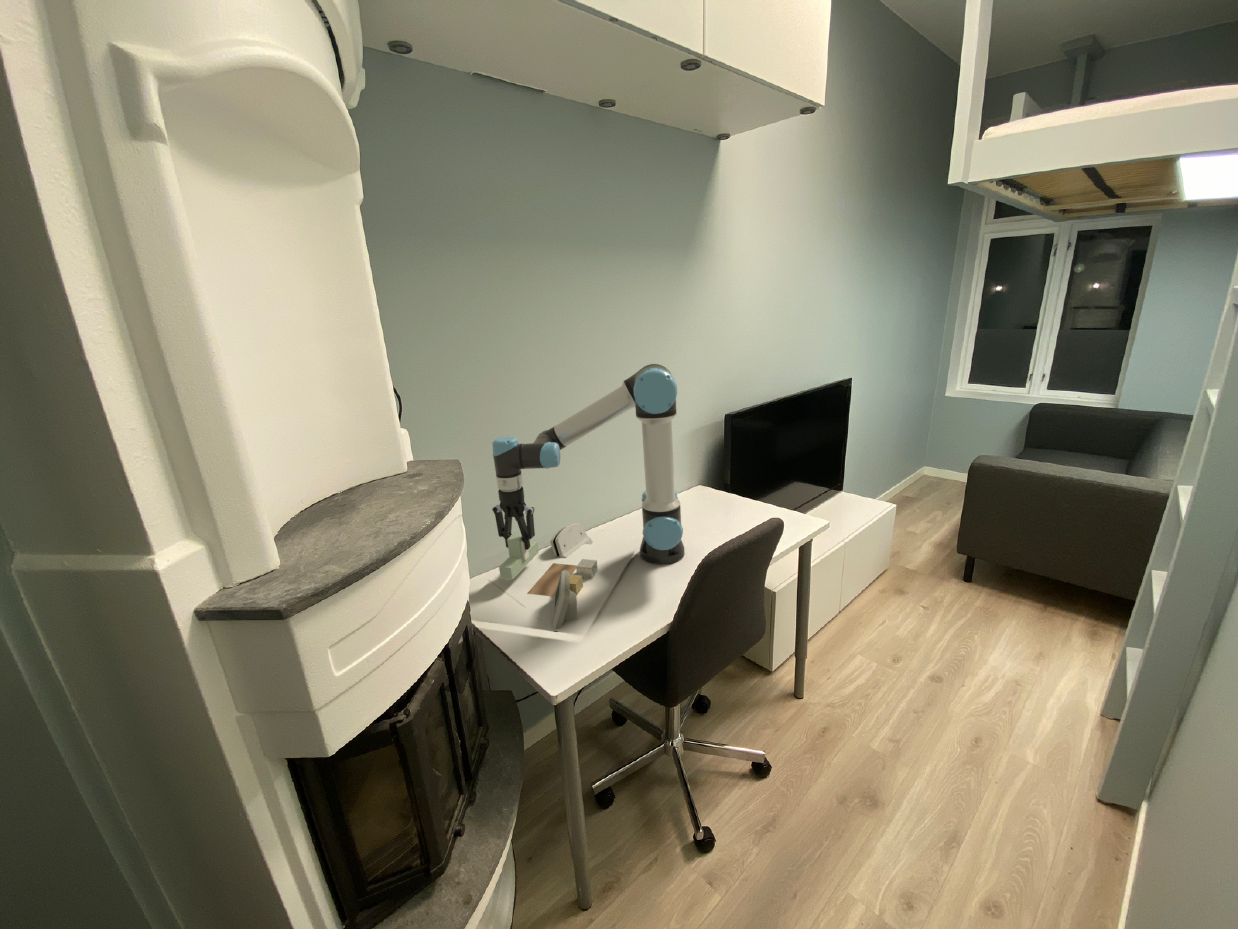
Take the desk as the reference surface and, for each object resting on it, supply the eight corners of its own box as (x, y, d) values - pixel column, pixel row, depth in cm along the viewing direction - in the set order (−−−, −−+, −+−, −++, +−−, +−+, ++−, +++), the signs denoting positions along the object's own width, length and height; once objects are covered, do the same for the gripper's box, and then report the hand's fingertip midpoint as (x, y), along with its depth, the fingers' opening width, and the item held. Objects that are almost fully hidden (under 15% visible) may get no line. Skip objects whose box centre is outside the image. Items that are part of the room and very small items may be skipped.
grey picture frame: (555, 600, 153) (551, 568, 150) (585, 600, 152) (581, 568, 149) (540, 634, 138) (536, 599, 135) (574, 634, 137) (570, 599, 134)
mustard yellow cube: (583, 590, 157) (582, 575, 156) (577, 599, 153) (575, 584, 151) (568, 588, 159) (566, 574, 157) (561, 597, 154) (560, 582, 153)
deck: (578, 569, 170) (578, 565, 170) (555, 601, 153) (554, 596, 152) (553, 567, 173) (553, 563, 172) (527, 597, 156) (527, 593, 155)
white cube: (598, 574, 166) (596, 560, 164) (592, 582, 161) (591, 568, 160) (583, 572, 167) (582, 559, 166) (577, 580, 163) (576, 566, 161)
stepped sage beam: (538, 552, 172) (535, 524, 169) (512, 579, 156) (508, 549, 153) (527, 551, 173) (524, 524, 170) (500, 578, 157) (496, 548, 154)
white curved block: (567, 562, 175) (556, 535, 174) (557, 564, 178) (546, 538, 177) (593, 542, 189) (583, 517, 188) (583, 544, 192) (573, 519, 191)
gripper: (479, 490, 156) (489, 560, 163) (530, 493, 151) (538, 565, 158) (492, 482, 163) (501, 549, 170) (541, 485, 158) (549, 554, 165)
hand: (519, 557), depth 164 cm, fingers closed on stepped sage beam, 4 cm apart
